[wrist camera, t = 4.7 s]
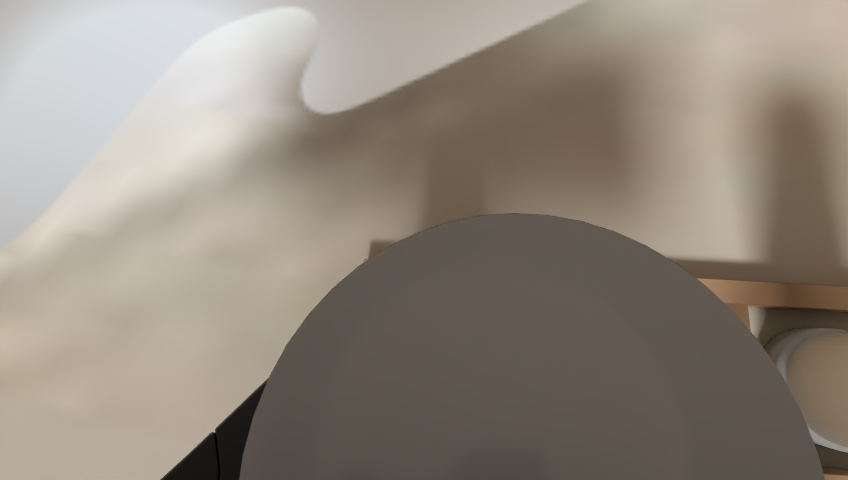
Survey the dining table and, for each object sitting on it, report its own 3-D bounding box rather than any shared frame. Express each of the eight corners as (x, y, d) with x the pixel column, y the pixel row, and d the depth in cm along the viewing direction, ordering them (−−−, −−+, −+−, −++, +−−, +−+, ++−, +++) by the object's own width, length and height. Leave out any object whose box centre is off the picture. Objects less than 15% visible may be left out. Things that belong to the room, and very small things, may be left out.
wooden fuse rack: (887, 292, 18) (913, 290, 17) (941, 561, 16) (975, 576, 15) (367, 263, 19) (363, 259, 18) (343, 518, 16) (338, 530, 15)
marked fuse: (540, 367, 15) (955, 496, 3) (452, 467, 14) (566, 1115, 2) (448, 277, 16) (509, 118, 4) (360, 368, 15) (116, 497, 3)
